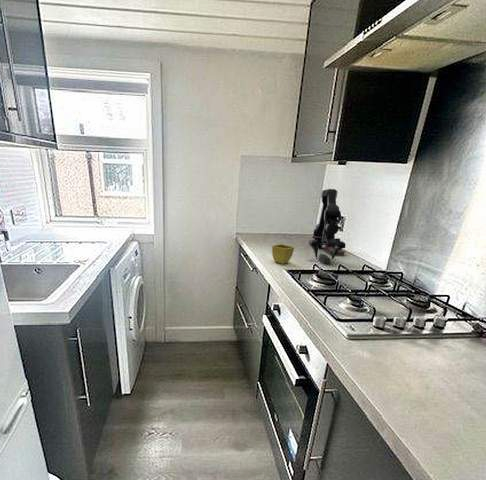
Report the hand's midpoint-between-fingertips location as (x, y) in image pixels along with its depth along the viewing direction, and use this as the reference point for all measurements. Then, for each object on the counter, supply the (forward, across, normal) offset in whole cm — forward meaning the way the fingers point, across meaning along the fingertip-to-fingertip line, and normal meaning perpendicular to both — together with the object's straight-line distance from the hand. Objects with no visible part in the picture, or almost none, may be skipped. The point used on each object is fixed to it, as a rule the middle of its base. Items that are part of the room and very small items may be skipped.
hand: (324, 258), depth 170 cm
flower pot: (+2, -25, -7) cm, 26 cm away
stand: (+2, +13, +23) cm, 26 cm away
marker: (+2, 0, 0) cm, 2 cm away
